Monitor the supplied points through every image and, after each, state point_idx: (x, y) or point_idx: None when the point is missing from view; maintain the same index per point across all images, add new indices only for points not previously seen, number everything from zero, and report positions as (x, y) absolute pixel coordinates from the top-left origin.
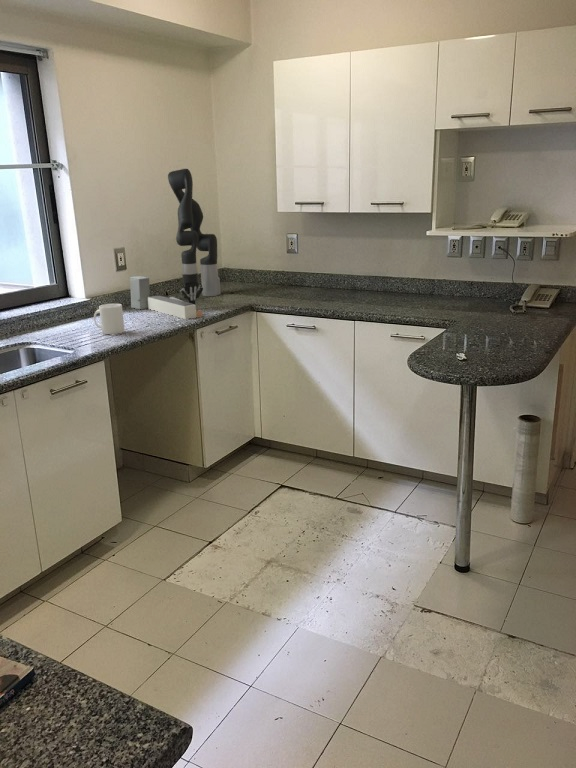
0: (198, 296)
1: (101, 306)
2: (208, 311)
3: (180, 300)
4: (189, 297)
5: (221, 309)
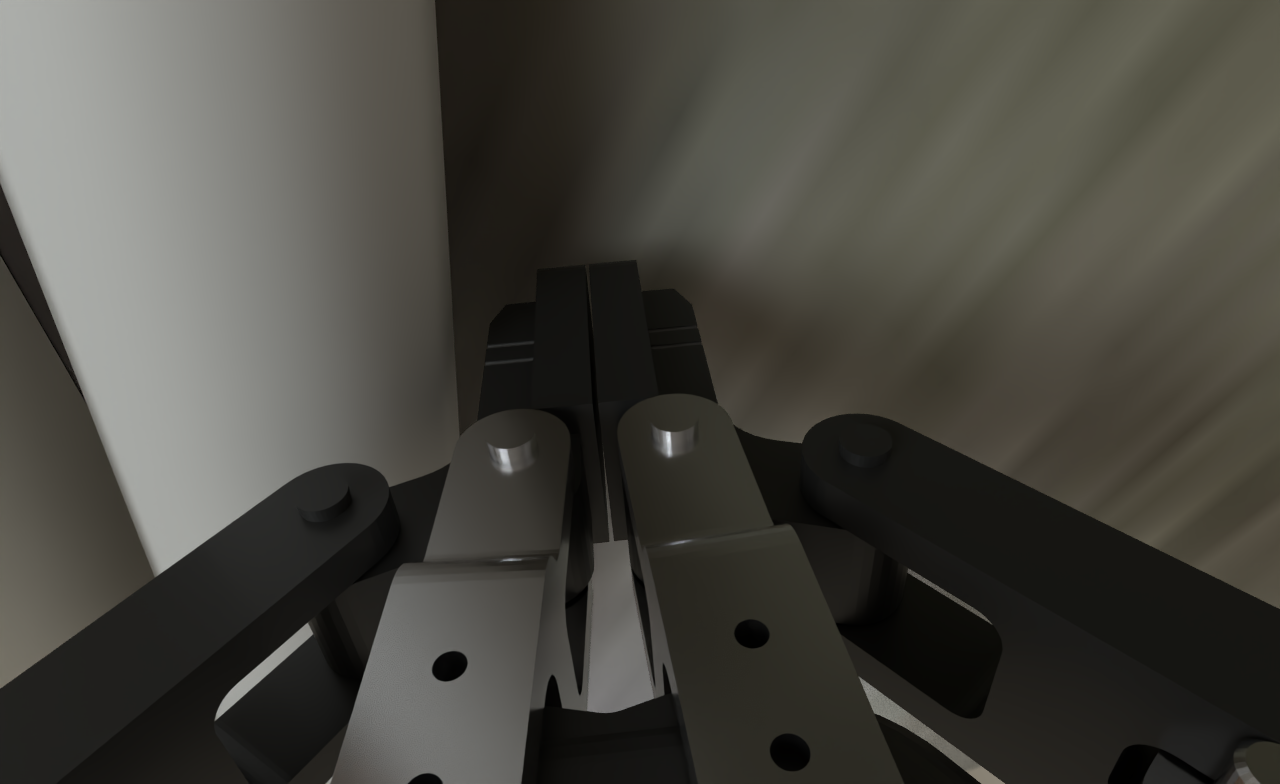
0: (896, 619)
1: None
2: None
3: (127, 6)
4: (515, 521)
5: None
